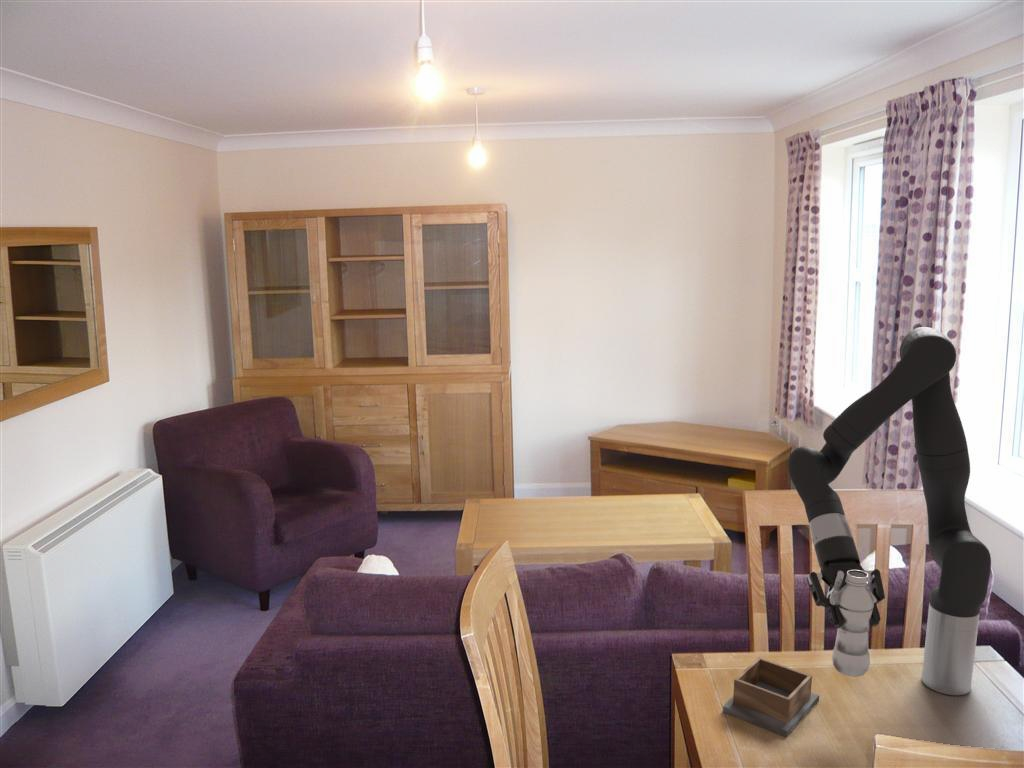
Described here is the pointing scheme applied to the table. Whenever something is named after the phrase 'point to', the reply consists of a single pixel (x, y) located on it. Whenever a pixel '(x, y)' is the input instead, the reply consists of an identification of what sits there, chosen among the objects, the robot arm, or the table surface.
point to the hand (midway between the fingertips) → (857, 625)
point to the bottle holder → (772, 696)
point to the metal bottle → (853, 625)
